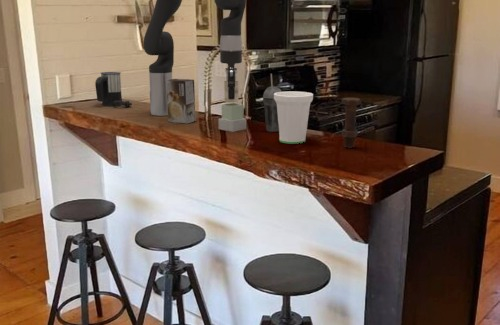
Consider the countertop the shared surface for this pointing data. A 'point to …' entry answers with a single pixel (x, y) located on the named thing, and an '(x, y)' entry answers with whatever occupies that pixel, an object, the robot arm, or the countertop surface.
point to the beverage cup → (271, 108)
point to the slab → (232, 124)
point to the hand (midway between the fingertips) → (231, 97)
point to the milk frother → (110, 89)
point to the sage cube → (232, 111)
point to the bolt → (350, 121)
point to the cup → (293, 115)
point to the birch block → (227, 92)
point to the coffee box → (181, 100)
